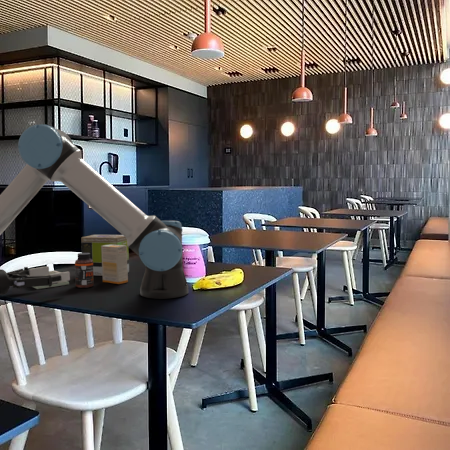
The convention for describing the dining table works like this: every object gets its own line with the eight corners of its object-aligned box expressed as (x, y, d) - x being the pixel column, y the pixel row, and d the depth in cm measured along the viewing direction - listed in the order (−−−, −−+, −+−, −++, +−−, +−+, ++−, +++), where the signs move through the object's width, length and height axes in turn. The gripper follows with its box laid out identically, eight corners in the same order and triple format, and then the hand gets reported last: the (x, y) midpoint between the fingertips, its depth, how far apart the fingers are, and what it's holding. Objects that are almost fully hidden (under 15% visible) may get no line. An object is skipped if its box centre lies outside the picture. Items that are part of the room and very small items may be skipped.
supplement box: (128, 282, 174) (127, 245, 173) (118, 284, 170) (117, 247, 169) (112, 279, 178) (111, 243, 177) (101, 282, 174) (100, 245, 173)
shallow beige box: (68, 284, 171) (68, 274, 171) (37, 289, 164) (36, 279, 164) (54, 278, 180) (54, 270, 180) (24, 283, 173) (23, 274, 173)
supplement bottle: (88, 288, 164) (87, 255, 163) (72, 288, 165) (71, 254, 164) (96, 284, 170) (95, 252, 169) (80, 284, 171) (79, 251, 170)
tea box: (129, 272, 192) (129, 234, 191) (118, 277, 183) (117, 237, 181) (95, 270, 196) (93, 233, 195) (81, 275, 186) (80, 236, 185)
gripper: (-25, 289, 154) (40, 279, 169) (10, 303, 137) (79, 290, 152) (-26, 266, 153) (39, 257, 169) (8, 276, 136) (78, 266, 152)
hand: (58, 273), depth 161 cm, fingers open, 13 cm apart
